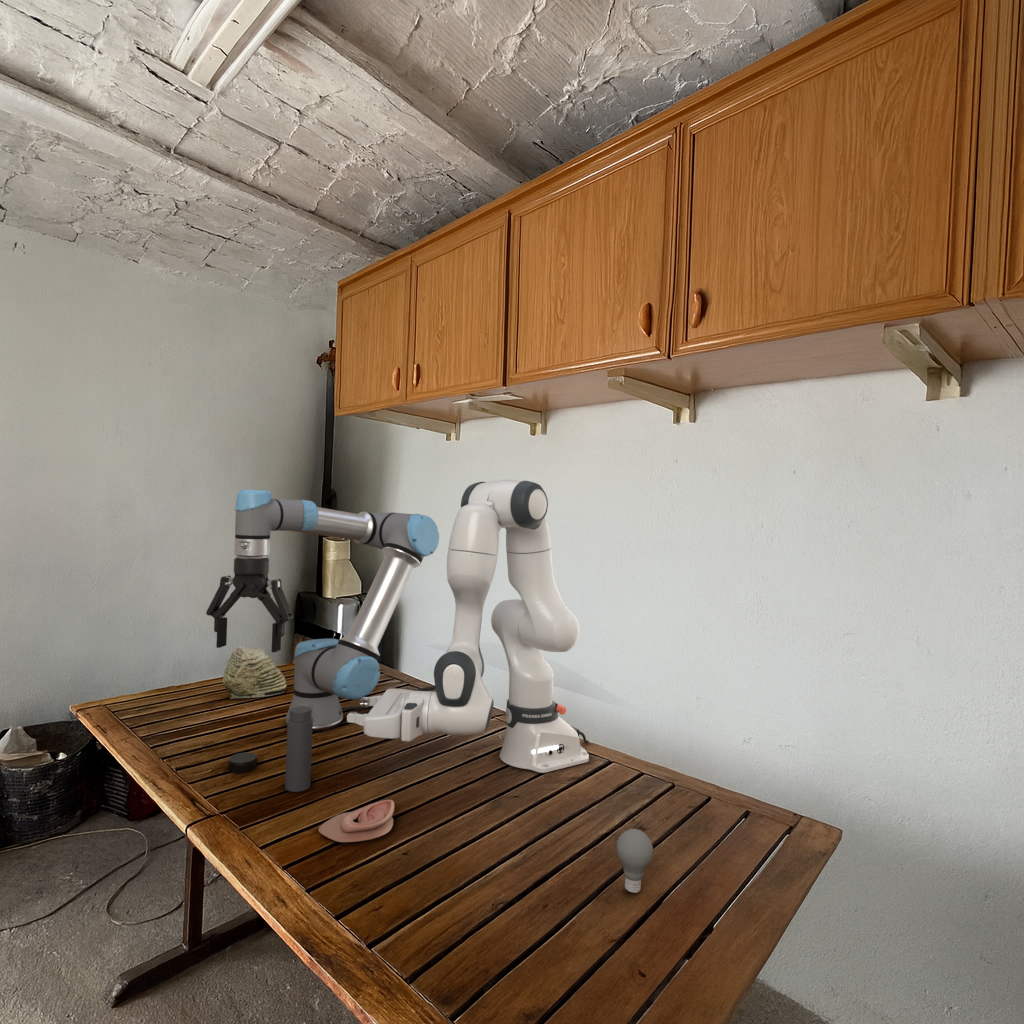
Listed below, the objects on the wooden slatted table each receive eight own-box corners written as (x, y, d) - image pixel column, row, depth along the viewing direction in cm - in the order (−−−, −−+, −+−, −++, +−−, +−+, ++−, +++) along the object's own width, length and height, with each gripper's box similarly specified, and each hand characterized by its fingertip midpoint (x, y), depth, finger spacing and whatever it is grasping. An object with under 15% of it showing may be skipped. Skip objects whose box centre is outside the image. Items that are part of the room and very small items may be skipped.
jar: (301, 778, 142) (304, 703, 141) (315, 786, 138) (318, 709, 138) (280, 786, 138) (283, 709, 137) (293, 794, 134) (296, 715, 134)
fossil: (218, 695, 195) (220, 647, 195) (278, 685, 208) (279, 640, 207) (228, 703, 189) (230, 653, 188) (289, 692, 201) (290, 645, 201)
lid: (237, 775, 142) (237, 765, 142) (223, 768, 145) (223, 757, 145) (262, 767, 147) (262, 757, 147) (247, 760, 150) (248, 750, 150)
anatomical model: (310, 816, 117) (339, 789, 129) (309, 837, 117) (338, 808, 129) (377, 827, 115) (401, 798, 126) (376, 848, 115) (400, 818, 126)
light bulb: (610, 879, 108) (613, 822, 108) (644, 879, 109) (647, 822, 109) (619, 902, 102) (622, 840, 102) (655, 901, 103) (658, 840, 103)
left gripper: (191, 555, 144) (188, 648, 144) (294, 561, 140) (291, 656, 140) (212, 552, 151) (209, 641, 151) (310, 558, 147) (307, 649, 148)
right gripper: (427, 683, 147) (368, 680, 148) (408, 714, 126) (340, 711, 127) (426, 709, 147) (367, 707, 148) (407, 745, 127) (339, 741, 127)
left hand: (248, 648), depth 146 cm, fingers open, 13 cm apart
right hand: (354, 709), depth 137 cm, fingers open, 8 cm apart
